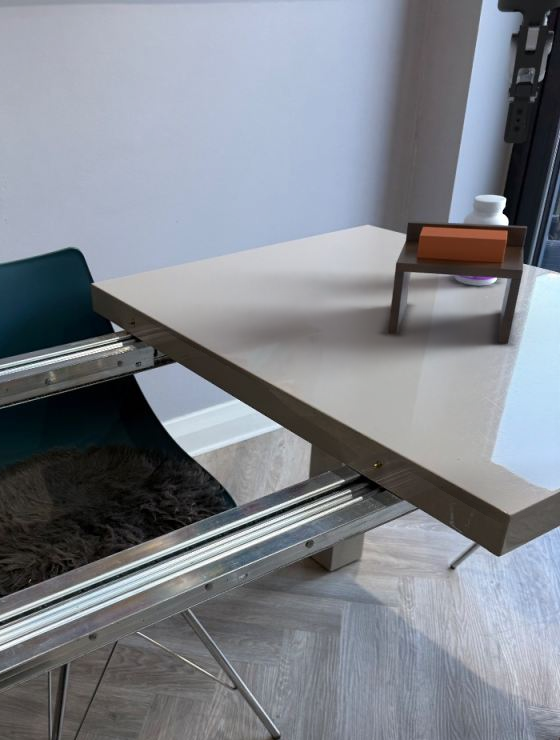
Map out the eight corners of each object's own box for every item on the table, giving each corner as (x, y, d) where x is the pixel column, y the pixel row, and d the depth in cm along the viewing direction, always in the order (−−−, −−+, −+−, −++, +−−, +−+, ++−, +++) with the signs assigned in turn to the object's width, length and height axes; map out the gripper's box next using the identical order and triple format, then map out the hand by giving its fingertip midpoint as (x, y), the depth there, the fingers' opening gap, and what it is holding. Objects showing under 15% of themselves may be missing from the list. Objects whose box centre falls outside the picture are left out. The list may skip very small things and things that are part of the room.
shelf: (509, 313, 116) (527, 226, 109) (507, 343, 106) (527, 250, 99) (398, 304, 121) (408, 220, 114) (387, 333, 111) (398, 243, 104)
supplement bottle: (447, 282, 128) (459, 199, 121) (464, 271, 132) (478, 191, 125) (486, 289, 125) (502, 205, 117) (503, 278, 129) (519, 196, 121)
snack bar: (503, 253, 107) (507, 230, 105) (502, 262, 104) (506, 239, 102) (420, 248, 111) (423, 226, 109) (416, 257, 107) (419, 235, 105)
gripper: (593, -53, 69) (554, 147, 78) (585, -49, 80) (551, 126, 89) (502, -47, 71) (474, 147, 80) (506, -44, 82) (481, 126, 91)
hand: (515, 136), depth 84 cm, fingers open, 8 cm apart
